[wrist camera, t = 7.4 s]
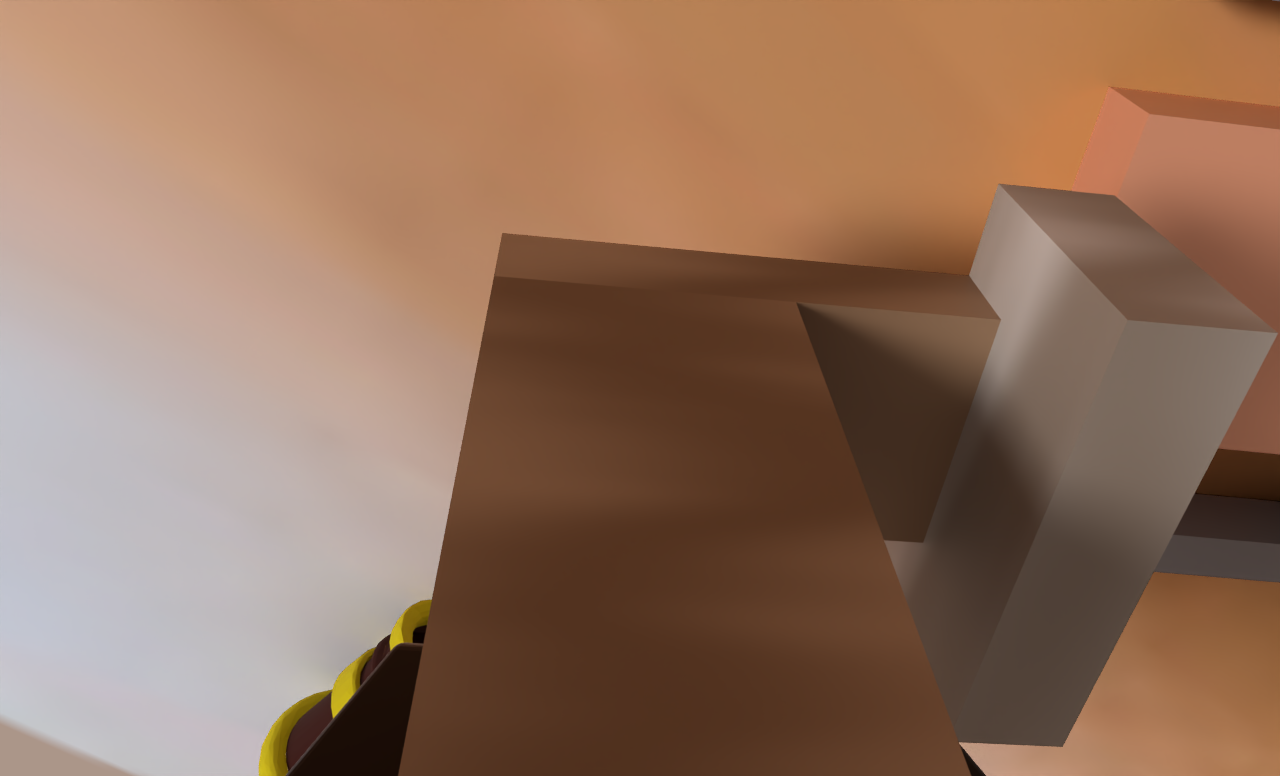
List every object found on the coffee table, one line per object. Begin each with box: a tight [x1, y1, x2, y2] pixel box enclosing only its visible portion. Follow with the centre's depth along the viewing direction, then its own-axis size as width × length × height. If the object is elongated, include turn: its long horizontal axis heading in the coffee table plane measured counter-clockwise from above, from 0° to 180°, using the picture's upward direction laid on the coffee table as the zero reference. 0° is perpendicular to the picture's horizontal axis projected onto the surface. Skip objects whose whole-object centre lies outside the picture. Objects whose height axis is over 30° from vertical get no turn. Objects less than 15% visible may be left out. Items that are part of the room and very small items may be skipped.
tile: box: [1071, 87, 1280, 454], centre depth 18 cm, size 6×6×2 cm
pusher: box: [398, 184, 1278, 776], centre depth 10 cm, size 8×6×9 cm
